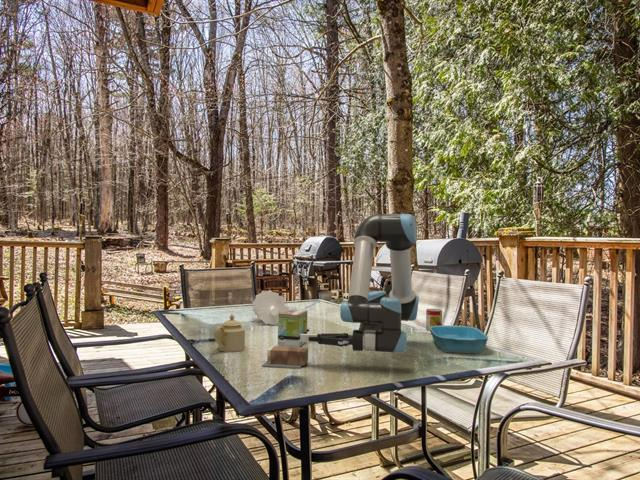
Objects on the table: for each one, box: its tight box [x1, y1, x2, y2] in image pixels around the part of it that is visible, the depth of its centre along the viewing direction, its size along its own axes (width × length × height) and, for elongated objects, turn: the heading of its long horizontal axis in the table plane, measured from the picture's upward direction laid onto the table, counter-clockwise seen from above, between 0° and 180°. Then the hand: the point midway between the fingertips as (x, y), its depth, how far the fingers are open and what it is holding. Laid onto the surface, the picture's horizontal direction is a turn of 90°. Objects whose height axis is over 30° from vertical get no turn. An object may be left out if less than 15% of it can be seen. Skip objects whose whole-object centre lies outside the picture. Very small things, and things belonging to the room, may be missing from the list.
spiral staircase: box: [252, 289, 290, 326], centre depth 268 cm, size 18×18×25 cm
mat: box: [261, 361, 303, 370], centre depth 177 cm, size 14×12×1 cm
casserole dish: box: [430, 324, 489, 354], centre depth 211 cm, size 37×22×7 cm, turn 174°
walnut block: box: [266, 345, 309, 367], centre depth 177 cm, size 5×7×14 cm
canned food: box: [425, 308, 443, 332], centre depth 242 cm, size 8×8×12 cm
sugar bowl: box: [213, 313, 246, 353], centre depth 198 cm, size 15×11×15 cm
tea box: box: [277, 309, 308, 347], centre depth 212 cm, size 15×10×15 cm, turn 168°
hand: (300, 337), depth 176 cm, fingers closed
